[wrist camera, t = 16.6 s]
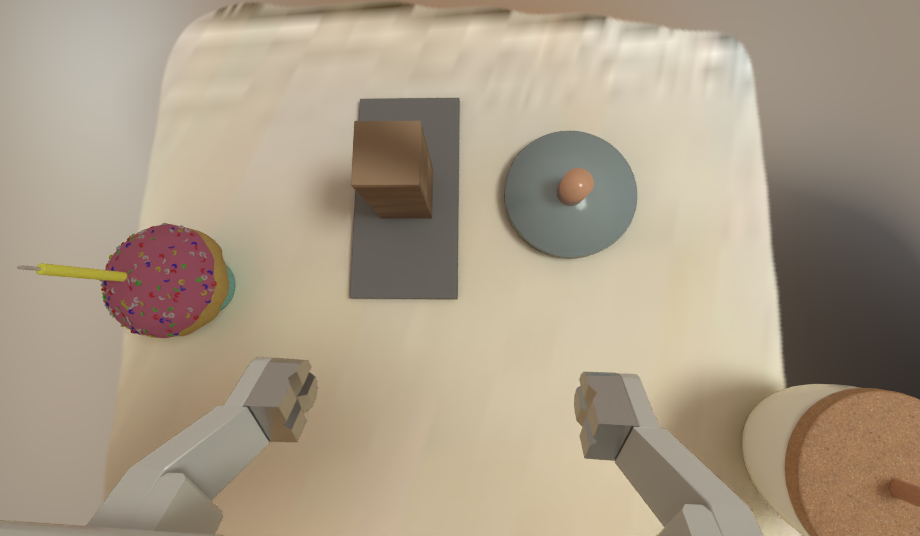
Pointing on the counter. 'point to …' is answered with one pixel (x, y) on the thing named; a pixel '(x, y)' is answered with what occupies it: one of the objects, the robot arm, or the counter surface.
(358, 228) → the rubber mat
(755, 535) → the robot arm
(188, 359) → the counter surface
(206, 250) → the cupcake
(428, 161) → the brown rectangular block
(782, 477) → the lidded jar
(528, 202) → the slate saucer
